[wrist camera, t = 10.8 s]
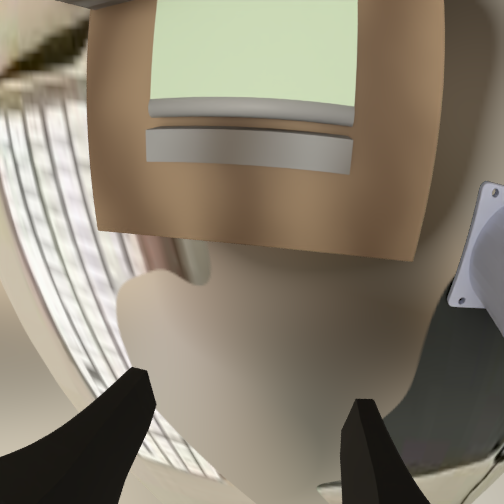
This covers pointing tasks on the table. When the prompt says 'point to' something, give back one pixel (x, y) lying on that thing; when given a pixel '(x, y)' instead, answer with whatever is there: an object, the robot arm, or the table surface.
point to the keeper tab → (255, 59)
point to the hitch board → (270, 145)
